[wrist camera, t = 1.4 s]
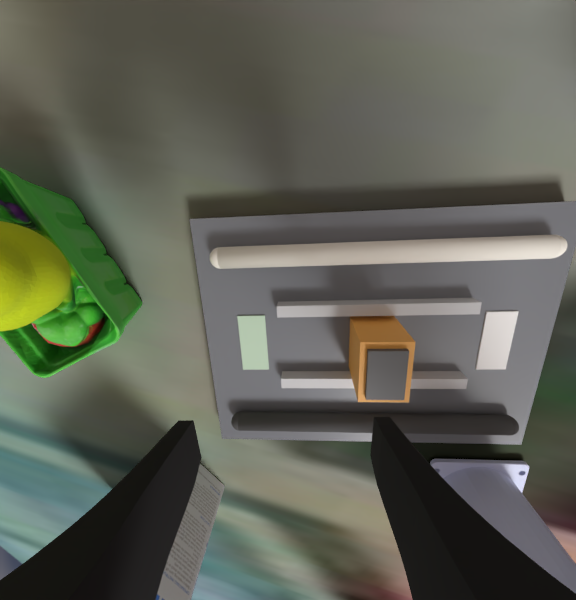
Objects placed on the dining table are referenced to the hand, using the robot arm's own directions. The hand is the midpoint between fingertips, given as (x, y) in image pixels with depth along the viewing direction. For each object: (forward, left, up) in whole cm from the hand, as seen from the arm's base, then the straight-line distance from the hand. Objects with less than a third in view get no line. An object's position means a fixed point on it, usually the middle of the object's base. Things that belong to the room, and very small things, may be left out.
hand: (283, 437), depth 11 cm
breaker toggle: (-1, -5, -9) cm, 11 cm away
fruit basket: (+5, +16, -11) cm, 20 cm away
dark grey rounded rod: (-7, -5, -9) cm, 13 cm away
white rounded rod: (+6, -5, -9) cm, 12 cm away
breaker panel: (-1, -5, -11) cm, 12 cm away
